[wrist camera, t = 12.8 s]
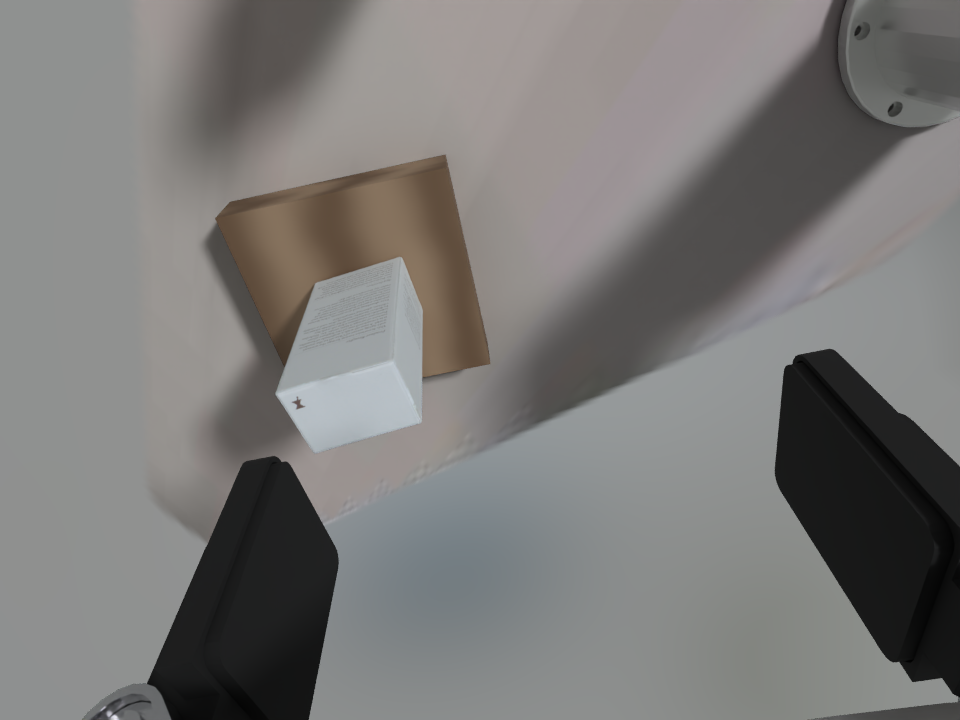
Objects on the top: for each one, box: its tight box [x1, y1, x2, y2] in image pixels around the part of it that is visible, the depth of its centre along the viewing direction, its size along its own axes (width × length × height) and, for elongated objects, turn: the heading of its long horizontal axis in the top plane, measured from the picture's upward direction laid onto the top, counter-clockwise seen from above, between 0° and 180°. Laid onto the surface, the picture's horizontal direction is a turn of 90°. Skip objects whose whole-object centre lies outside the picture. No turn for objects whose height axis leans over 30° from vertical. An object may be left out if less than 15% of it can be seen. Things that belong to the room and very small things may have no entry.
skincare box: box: [275, 257, 423, 453], centre depth 33 cm, size 6×4×12 cm
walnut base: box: [215, 155, 490, 377], centre depth 39 cm, size 14×14×3 cm
